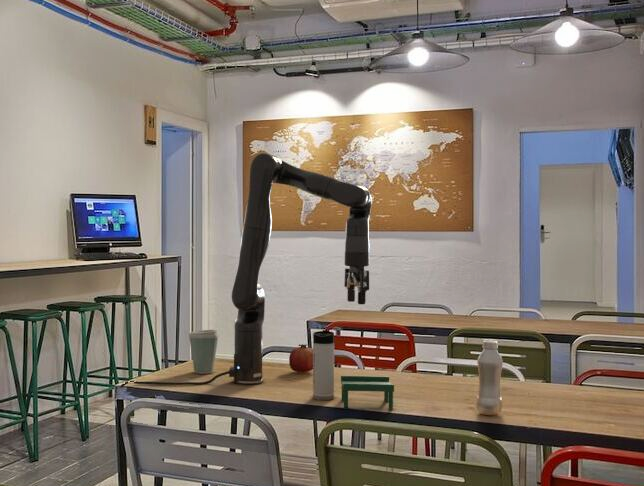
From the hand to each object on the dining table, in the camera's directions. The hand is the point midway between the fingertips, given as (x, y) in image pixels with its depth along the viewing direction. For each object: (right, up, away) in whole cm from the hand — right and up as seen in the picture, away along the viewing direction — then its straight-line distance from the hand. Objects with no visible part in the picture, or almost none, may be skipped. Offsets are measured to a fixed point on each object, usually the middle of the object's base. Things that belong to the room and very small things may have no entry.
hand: (356, 302), depth 230 cm
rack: (0, -28, -17) cm, 33 cm away
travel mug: (-11, -28, -8) cm, 32 cm away
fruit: (-14, -27, +32) cm, 44 cm away
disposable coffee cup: (-49, -27, +33) cm, 65 cm away
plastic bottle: (+31, -29, -29) cm, 52 cm away
